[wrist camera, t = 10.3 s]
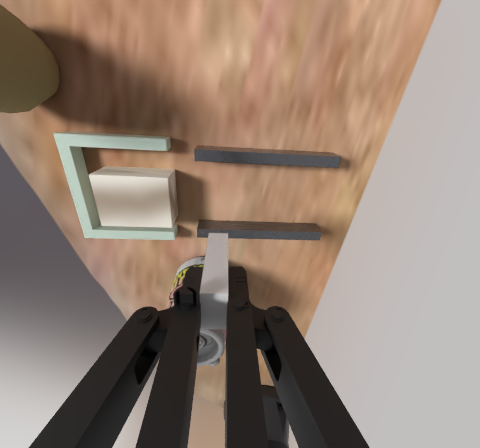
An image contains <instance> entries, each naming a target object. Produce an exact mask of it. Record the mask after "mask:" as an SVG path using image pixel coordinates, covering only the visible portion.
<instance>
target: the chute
mask: <svg viewBox="0 0 480 448" xmlns="http://www.w3.org/2000/svg"><path fill="white" fill-rule="evenodd" d="M194 154H195V161H207V162H228V163H250V164H271V165H292V166H313V167H334V168H338V167H339V163H340V159H341V157H340V156H338V155H336V154H334V153H329V152H310V151H291V150H271V149H252V148H233V147H213V146H197V147H196V148H195V149H194ZM209 233H228V238H245V239H286V240H320V237H321V233H322V232H321V231H320V230H319V228H318V227H317V226H316V224H313V223H279V222H246V221H212V220H199V224H198V228H197V237H205V238H208V235H209Z"/></svg>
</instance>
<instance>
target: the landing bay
mask: <svg viewBox="0 0 480 448" xmlns="http://www.w3.org/2000/svg"><path fill="white" fill-rule="evenodd" d="M53 134H54V137H55V141H56V144H57V147H58V151H59V154H60V157H61V160H62V164H63V167H64V170H65V174H66V177H67V180H68V184H69V187H70V190H71V193H72V197H73V200H74V203H75V207H76V210H77V213H78V217H79V220H80V223H81V226H82V230H83V233H84V236H85V238H110V239H152V240H175V238H176V236H177V233H178V229H177V225H173V227H172V228H162V227H125V226H101V222H100V219H99V215H98V211H97V207H96V203H95V199H94V195H93V191H92V187H91V183H90V180H89V176H88V172H87V168H86V164H85V160H84V156H83V152H82V148H81V147H97V148H117V149H137V150H157V151H167V150H169V149H170V148H171V142H170V137H164V136H145V135H127V134H108V133H90V132H71V131H64V132H57V133H53Z"/></svg>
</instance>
